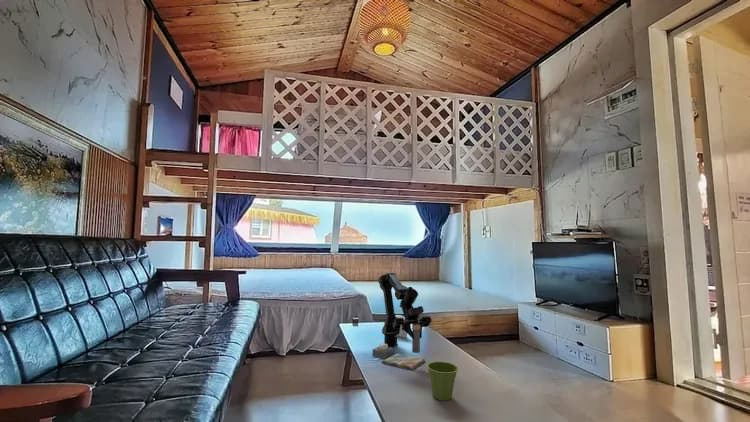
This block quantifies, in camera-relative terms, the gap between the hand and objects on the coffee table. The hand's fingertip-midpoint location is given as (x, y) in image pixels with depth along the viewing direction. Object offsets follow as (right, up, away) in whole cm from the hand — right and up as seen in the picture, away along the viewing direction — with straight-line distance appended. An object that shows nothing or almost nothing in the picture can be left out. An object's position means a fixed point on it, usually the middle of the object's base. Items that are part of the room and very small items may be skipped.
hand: (417, 338), depth 172 cm
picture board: (-6, -13, +5) cm, 15 cm away
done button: (-16, -12, +16) cm, 25 cm away
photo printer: (-5, -17, +51) cm, 54 cm away
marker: (-1, -7, +1) cm, 7 cm away
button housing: (-16, -14, +15) cm, 26 cm away
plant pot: (+6, -11, -33) cm, 35 cm away
